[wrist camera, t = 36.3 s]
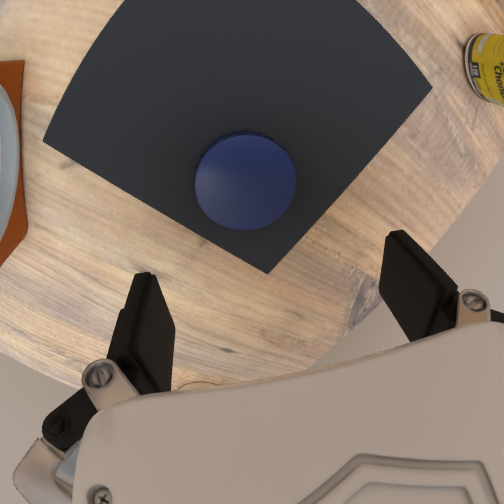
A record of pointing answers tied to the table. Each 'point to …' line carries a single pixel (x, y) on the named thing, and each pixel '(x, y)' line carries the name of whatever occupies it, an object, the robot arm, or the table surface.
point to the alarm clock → (10, 160)
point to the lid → (244, 180)
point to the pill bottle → (486, 66)
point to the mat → (236, 103)
